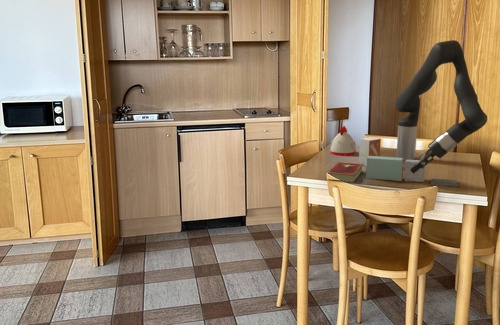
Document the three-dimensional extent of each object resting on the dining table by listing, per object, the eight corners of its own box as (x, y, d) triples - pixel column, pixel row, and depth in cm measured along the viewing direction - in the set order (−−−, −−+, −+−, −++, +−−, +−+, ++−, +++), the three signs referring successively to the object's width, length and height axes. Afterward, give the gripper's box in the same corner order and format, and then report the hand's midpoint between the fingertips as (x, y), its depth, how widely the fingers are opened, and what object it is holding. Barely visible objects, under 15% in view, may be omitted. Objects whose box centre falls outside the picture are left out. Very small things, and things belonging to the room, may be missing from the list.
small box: (368, 167, 231) (369, 140, 228) (358, 164, 236) (359, 138, 233) (379, 164, 235) (381, 138, 232) (370, 162, 240) (371, 136, 237)
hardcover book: (326, 181, 208) (326, 171, 207) (337, 170, 227) (337, 161, 226) (353, 183, 204) (354, 174, 203) (362, 172, 222) (363, 163, 222)
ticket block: (367, 175, 215) (368, 155, 213) (402, 178, 210) (403, 157, 208) (366, 178, 210) (366, 157, 208) (401, 180, 205) (403, 160, 203)
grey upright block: (423, 179, 207) (425, 160, 205) (423, 182, 202) (425, 162, 200) (404, 178, 209) (405, 159, 207) (404, 181, 205) (405, 161, 203)
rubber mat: (431, 179, 206) (431, 178, 206) (456, 181, 203) (456, 180, 203) (431, 185, 198) (431, 183, 198) (457, 187, 195) (457, 185, 195)
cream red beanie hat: (325, 154, 260) (326, 126, 257) (336, 149, 272) (337, 123, 268) (349, 157, 253) (350, 129, 249) (359, 152, 264) (360, 125, 260)
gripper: (436, 135, 205) (406, 159, 212) (436, 141, 192) (404, 166, 199) (448, 148, 205) (418, 171, 211) (449, 154, 192) (417, 180, 198)
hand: (412, 169), depth 205 cm, fingers open, 8 cm apart
